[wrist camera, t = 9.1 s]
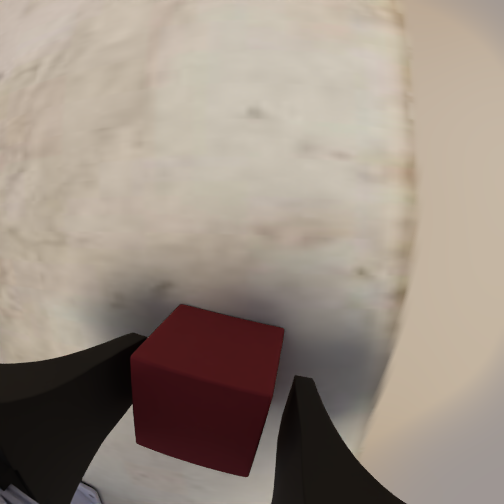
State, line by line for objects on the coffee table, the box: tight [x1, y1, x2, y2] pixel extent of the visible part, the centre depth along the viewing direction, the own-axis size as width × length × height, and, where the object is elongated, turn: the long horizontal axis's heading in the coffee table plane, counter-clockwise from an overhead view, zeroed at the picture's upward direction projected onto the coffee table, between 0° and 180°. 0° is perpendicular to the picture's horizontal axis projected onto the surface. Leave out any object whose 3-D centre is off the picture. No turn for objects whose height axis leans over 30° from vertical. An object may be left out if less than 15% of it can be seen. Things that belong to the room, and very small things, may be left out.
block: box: [130, 304, 284, 477], centre depth 10 cm, size 4×4×4 cm
